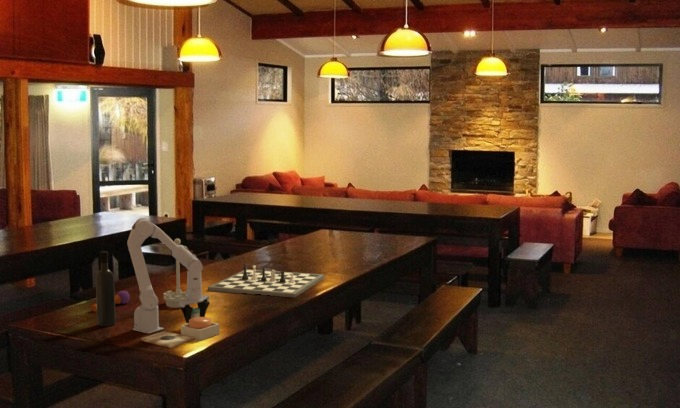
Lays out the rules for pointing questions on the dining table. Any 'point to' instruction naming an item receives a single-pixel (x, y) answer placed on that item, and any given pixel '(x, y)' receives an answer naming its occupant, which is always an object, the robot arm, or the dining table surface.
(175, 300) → the flag stand
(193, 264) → the robot arm
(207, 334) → the open square beige box
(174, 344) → the board
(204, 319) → the orange dome
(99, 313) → the wine bottle
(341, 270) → the dining table surface
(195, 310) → the jar with green lid
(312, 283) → the chess set
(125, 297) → the kendama
